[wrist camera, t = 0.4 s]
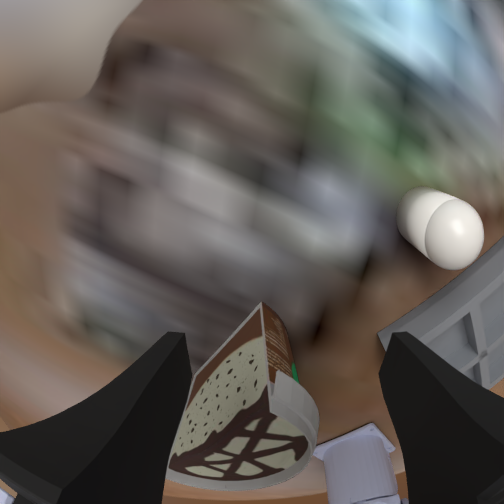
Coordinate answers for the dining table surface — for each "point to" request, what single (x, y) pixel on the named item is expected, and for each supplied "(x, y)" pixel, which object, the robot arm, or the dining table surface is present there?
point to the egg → (440, 227)
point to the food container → (246, 413)
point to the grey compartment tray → (464, 320)
